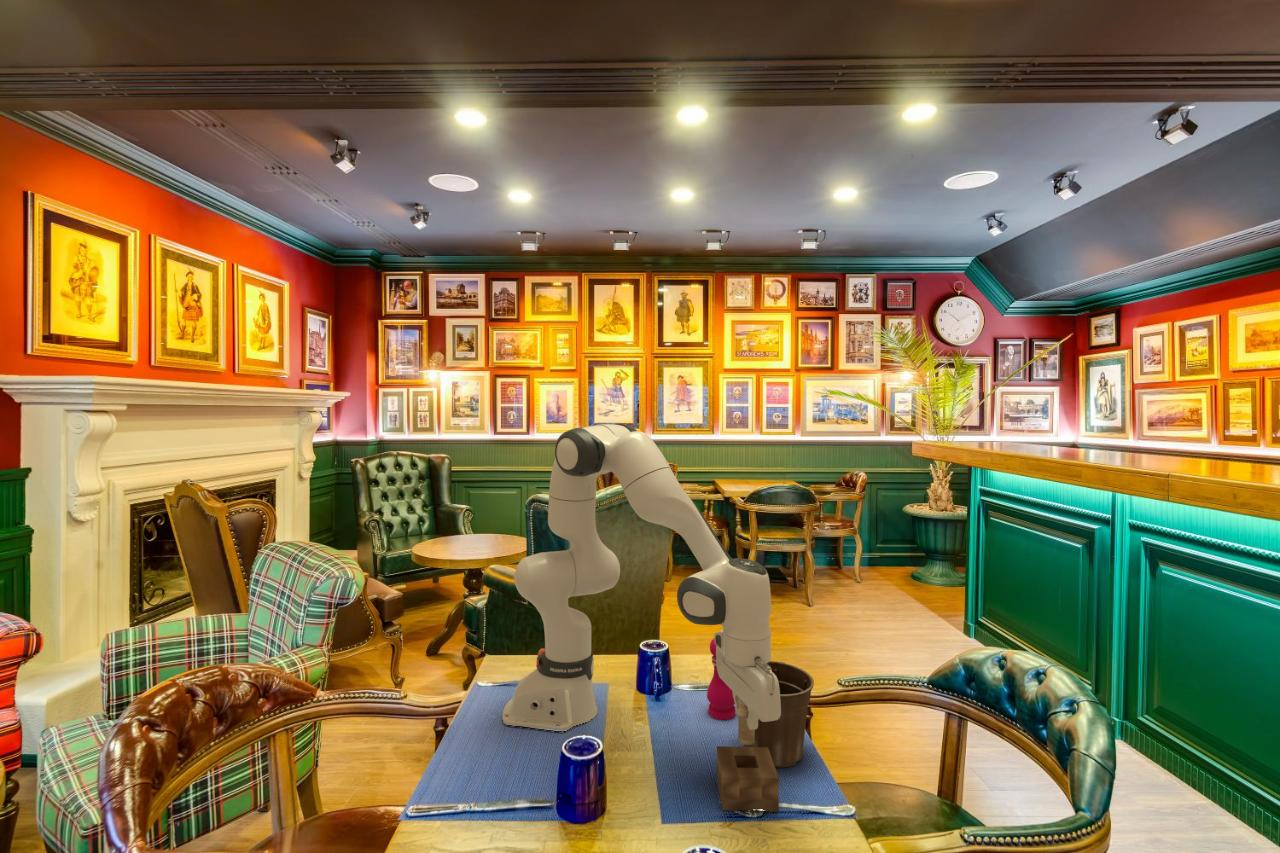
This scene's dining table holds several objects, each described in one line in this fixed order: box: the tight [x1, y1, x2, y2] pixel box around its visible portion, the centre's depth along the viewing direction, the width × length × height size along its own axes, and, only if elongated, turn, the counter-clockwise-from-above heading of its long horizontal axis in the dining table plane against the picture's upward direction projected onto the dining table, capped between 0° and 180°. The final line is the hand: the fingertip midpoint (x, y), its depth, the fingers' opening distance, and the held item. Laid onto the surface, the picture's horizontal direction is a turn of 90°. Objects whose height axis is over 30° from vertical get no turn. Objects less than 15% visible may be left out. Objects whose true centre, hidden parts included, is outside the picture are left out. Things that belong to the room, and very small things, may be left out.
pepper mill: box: [706, 629, 736, 721], centre depth 139 cm, size 7×7×20 cm
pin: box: [737, 698, 755, 746], centre depth 109 cm, size 3×3×10 cm
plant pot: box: [743, 660, 815, 769], centre depth 123 cm, size 16×16×16 cm
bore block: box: [716, 745, 780, 813], centre depth 109 cm, size 10×10×6 cm
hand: (746, 721), depth 109 cm, fingers closed on pin, 3 cm apart
